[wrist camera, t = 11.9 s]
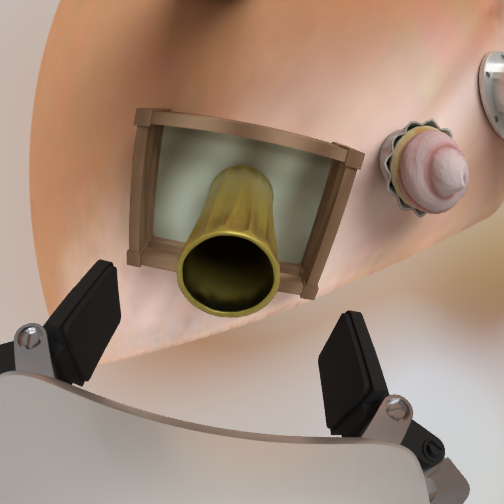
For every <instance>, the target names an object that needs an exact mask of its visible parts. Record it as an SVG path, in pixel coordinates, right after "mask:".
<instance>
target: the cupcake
mask: <svg viewBox="0 0 504 504" xmlns="http://www.w3.org/2000/svg"><path fill="white" fill-rule="evenodd" d="M379 165H380V168H381V171H382V174H383V176H384V178H385V179H386V181H387V191H388V192H389V193H391V194H393V195H395V196H396V198H397V201H398V204H399V206H400V208H401V209H403V210H411V209H413V211H414V212H415V214H416V215H417V216H418V217H419V218H420V217H423V216H424V215H425V214H426V213H429V214H439V213H443V212H446V211H448V210H449V209H451V208H452V207H453V206H454V205H455V204H456V203H457V202H458V201H459V200H460V199H461V198H462V196H463V195H464V193H465V191H466V189H467V187H468V184H469V168H468V164H467V162H466V160H465V158H464V155H463V153H462V150H461V149H460V148H459V146H458V144H457V143H456V142H455V141H454V140H453V135H452V133H451V130H449V129H440V127H439V126H438V124H437V123H436V121H434V120H433V119H428V120H427V121H425V122H424V123H422V124H421V123H419V122H416V121H411V122H410V123H409V124H408V125H407V126H406V127H405V128H403V129H401V130H397V131H395V132H393V133H392V134H390V135H389V136H388V137H387V138H386V140H385V141H384V143H383V145H382V147H381V150H380V156H379Z"/></svg>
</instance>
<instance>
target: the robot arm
mask: <svg viewBox="0 0 504 504" xmlns="http://www.w3.org/2000/svg"><path fill="white" fill-rule="evenodd" d="M479 86H480V94H481V99H482V103H483V107H484V110H485V113H486V115H487V118H488V120H489V122H490V124H491V126H492V127H493V129H494V130H495V132H496V133H497V134H498V135H499V136H500V137H501V138H502V139H504V52H502V51H492V52H489V53H488V54H486V55H485V57H484V58H483V60H482V63H481V66H480V72H479ZM120 320H121V310H120V302H119V292H118V281H117V269H116V267H114V266H113V263H112V262H109V261H105V260H101V259H100V260H98V261H97V262H96V263H95V264H94V265H93V267H92V268H91V269H90V270H89V271H88V272H87V273H86V275H85V276H84V277H83V278H82V279H81V280H80V282H79V283H78V284H77V285H76V286H75V287H74V288H73V289H72V290H71V291H70V293H69V294H68V295H67V296H66V298H65V299H64V300H63V301H62V302H61V304H60V305H59V306H58V307H57V309H56V310H55V311H54V313H53V314H52V315H51V316H50V318H49V319H48V320H47V322H46V323H45V324H44V326H41V325H39V324H36V323H29V324H26V325H23V326H22V327H20V328H19V329H18V330H17V332H16V334H15V336H14V341H12V342H8V343H5V344H1V345H0V504H463V503H464V501H465V500H466V499H467V497H468V495H469V491H470V487H469V484H468V482H467V480H466V479H465V478H464V476H463V475H462V474H461V473H460V471H459V470H458V469H457V468H456V466H455V465H454V464H453V463H452V461H451V460H450V459H449V458H446V459H445V458H444V455H445V448H444V445H443V443H442V442H441V440H440V439H439V438H437V437H436V436H435V435H433V434H432V433H430V432H429V431H427V430H426V429H425V428H423V427H422V426H421V425H419V424H418V423H416V422H415V421H414V420H412V417H413V409H412V407H411V405H410V403H409V402H408V401H407V400H406V399H405V398H404V397H402V396H400V395H389V392H388V389H387V385H386V382H385V379H384V376H383V373H382V370H381V367H380V364H379V361H378V358H377V355H376V352H375V349H374V346H373V344H372V341H371V338H370V335H369V332H368V330H367V327H366V324H365V322H364V319H363V316H362V314H361V313H360V312H355V311H347V312H346V313H343V314H341V316H340V318H339V320H338V322H337V324H336V326H335V328H334V329H333V331H332V333H331V335H330V337H329V339H328V341H327V342H326V344H325V346H324V348H323V350H322V351H321V353H320V355H319V358H318V365H319V372H320V379H321V385H322V393H323V400H324V408H325V416H326V424H327V427H328V428H330V431H331V435H342V437H301V436H282V435H270V434H260V433H251V432H243V431H236V430H229V429H223V428H217V427H211V426H205V425H201V424H195V423H191V422H186V421H182V420H178V419H173V418H169V417H165V416H161V415H158V414H154V413H151V412H147V411H143V410H140V409H137V408H134V407H130V406H127V405H124V404H121V403H118V402H115V401H112V400H110V399H107V398H104V397H101V396H99V395H96V394H93V393H91V392H88V391H85V390H83V389H80V388H78V387H75V386H73V385H72V383H75V384H77V385H79V386H83V384H84V382H85V381H89V379H90V378H91V376H92V374H93V372H94V369H95V368H96V366H97V364H98V362H99V360H100V358H101V356H102V354H103V352H104V350H105V348H106V347H107V345H108V343H109V341H110V339H111V337H112V336H113V334H114V332H115V330H116V328H117V327H118V325H119V323H120Z"/></svg>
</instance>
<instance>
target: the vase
mask: <svg viewBox="0 0 504 504" xmlns="http://www.w3.org/2000/svg"><path fill="white" fill-rule="evenodd" d="M273 200H274V193H273V188H272V185H271V183H270V181H269V180H268V178H267V177H266V176H265V175H264V174H263V173H262V172H261V171H259V170H258V169H256V168H253V167H250V166H246V165H236V166H231V167H228V168H226V169H224V170H223V171H222V172H220V173H219V174H218V175H217V176H216V177H215V178H214V180H213V182H212V184H211V186H210V189H209V195H208V198H207V200H206V203H205V206H204V208H203V210H202V212H201V214H200V216H199V218H198V220H197V222H196V224H195V226H194V228H193V230H192V232H191V234H190V236H189V238H188V240H187V241H186V243H185V245H184V247H183V249H182V252H181V254H180V256H179V258H178V262H177V278H178V284H179V287H180V289H181V291H182V293H183V294H184V296H185V297H186V298H187V299H188V301H190V302H191V303H192V304H193V305H194V306H196V307H197V308H199V309H201V310H202V311H204V312H206V313H209V314H211V315H215V316H220V317H242V316H247V315H250V314H252V313H255V312H257V311H259V310H261V309H262V308H263V307H265V306H266V305H267V304H268V303H269V302H270V301H271V300H272V299H273V297H274V296H275V294H276V292H277V290H278V288H279V284H280V265H279V261H278V258H277V253H278V250H277V243H276V236H275V230H274V218H273Z"/></svg>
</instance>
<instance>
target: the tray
mask: <svg viewBox="0 0 504 504" xmlns="http://www.w3.org/2000/svg"><path fill="white" fill-rule="evenodd" d="M134 125H137V130H136V138H135V147H134V156H133V167H132V180H131V196H130V222H129V250H128V251H127V265H132V266H136V267H141V265H145V266H150V267H154V268H159V269H164V270H169V271H173V272H177V262H178V258H179V256H180V254H181V252H182V249H183V247H184V245H185V243H186V241H187V240H188V238H189V236H190V234H191V232H192V230H193V228H194V226H195V224H196V222H197V220H198V218H199V216H200V214H201V212H202V210H203V208H204V206H205V203H206V200H207V198H208V195H209V189H210V186H211V184H212V182H213V180H214V178H215V177H216V176H217V175H218V174H219V173H220V172H222V171H223V170H224V169H226V168H228V167H231V166H236V165H246V166H250V167H253V168H256V169H258V170H259V171H261V172H262V173H263V174H264V175H265V176H266V177H267V178H268V180H269V181H270V183H271V185H272V188H273V193H274V200H273V218H274V230H275V236H276V243H277V250H278V253H277V258H278V261H279V265H280V284H279V288H278V290H277V291H279V292H285V293H291V294H297V295H300V298H304V299H310V300H314V299H315V297H316V294H317V292H318V289H319V288H318V285H317V284H318V282H319V279H320V277H321V274H322V271H323V269H324V266H325V263H326V261H327V258H328V255H329V253H330V250H331V247H332V244H333V242H334V239H335V236H336V233H337V230H338V227H339V225H340V222H341V219H342V216H343V213H344V210H345V207H346V204H347V201H348V198H349V194H350V191H351V188H352V185H353V182H354V178H355V175H356V172H357V169H359V170H361V166H362V163H363V159H364V156H365V154H364V153H362V152H360V151H357V150H355V149H353V148H350V147H348V146H345V145H342V144H339V143H335V142H333V143H328V142H325V141H321V140H318V139H314V138H311V137H307V136H303V135H299V134H295V133H291V132H287V131H283V130H279V129H274V128H270V127H265V126H261V125H256V124H251V123H246V122H240V121H235V120H229V119H223V118H217V117H210V116H204V115H196V114H188V113H180V112H171V109H160V108H136V115H135V122H134Z"/></svg>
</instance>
